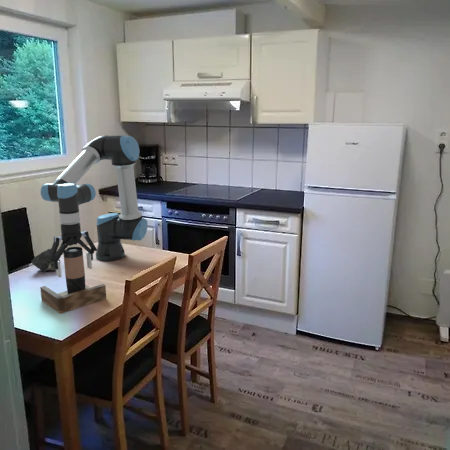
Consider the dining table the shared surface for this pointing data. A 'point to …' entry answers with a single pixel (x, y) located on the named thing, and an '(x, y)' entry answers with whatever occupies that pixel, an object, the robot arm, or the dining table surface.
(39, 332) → the dining table surface
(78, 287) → the travel mug
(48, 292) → the wooden l-shaped block
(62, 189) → the robot arm
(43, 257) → the rock
